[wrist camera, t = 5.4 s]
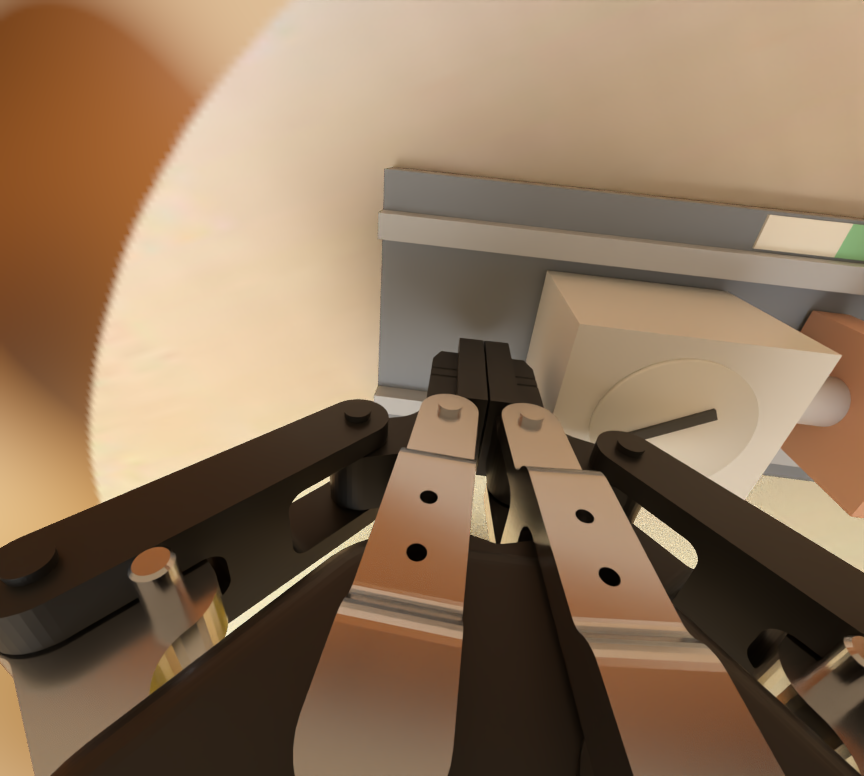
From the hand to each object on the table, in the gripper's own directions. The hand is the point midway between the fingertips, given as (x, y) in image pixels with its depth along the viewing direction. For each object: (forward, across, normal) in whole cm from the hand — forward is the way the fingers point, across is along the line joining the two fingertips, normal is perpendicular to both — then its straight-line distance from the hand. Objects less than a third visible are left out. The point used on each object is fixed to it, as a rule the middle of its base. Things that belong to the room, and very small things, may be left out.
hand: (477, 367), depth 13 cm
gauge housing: (+3, -7, 0) cm, 7 cm away
